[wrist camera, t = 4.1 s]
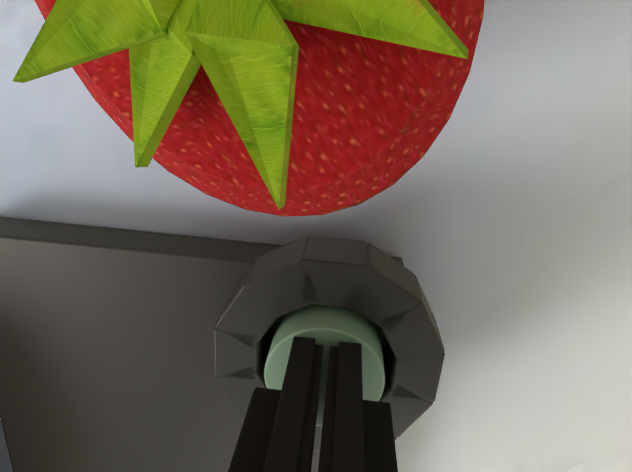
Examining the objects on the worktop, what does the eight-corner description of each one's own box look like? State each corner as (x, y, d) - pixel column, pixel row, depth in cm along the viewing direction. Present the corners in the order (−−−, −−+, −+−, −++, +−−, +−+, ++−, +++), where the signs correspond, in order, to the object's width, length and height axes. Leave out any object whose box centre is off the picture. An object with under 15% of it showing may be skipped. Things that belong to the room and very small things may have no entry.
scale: (-15, 186, 14) (-109, 217, 11) (440, 230, 13) (462, 275, 10) (50, 505, 19) (-3, 581, 16) (380, 549, 18) (384, 637, 15)
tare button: (276, 290, 12) (265, 322, 10) (388, 302, 12) (393, 335, 10) (272, 381, 13) (261, 420, 12) (374, 393, 13) (377, 434, 11)
